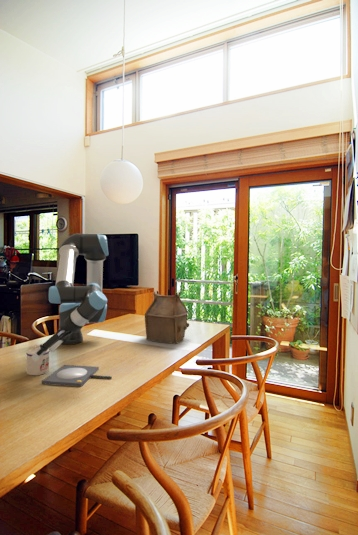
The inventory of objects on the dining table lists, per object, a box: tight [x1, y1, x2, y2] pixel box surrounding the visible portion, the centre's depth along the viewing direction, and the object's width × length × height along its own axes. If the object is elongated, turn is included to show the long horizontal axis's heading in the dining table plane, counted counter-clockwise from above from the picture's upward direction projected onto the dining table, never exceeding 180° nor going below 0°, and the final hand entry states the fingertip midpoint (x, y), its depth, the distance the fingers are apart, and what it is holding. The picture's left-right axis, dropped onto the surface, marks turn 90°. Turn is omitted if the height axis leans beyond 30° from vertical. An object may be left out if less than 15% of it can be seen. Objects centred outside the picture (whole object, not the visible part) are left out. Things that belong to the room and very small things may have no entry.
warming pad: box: [41, 364, 113, 387], centre depth 123 cm, size 25×18×2 cm
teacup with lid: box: [26, 344, 51, 376], centre depth 129 cm, size 12×9×12 cm
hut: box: [144, 290, 190, 345], centre depth 185 cm, size 23×27×30 cm
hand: (42, 354), depth 128 cm, fingers open, 13 cm apart
